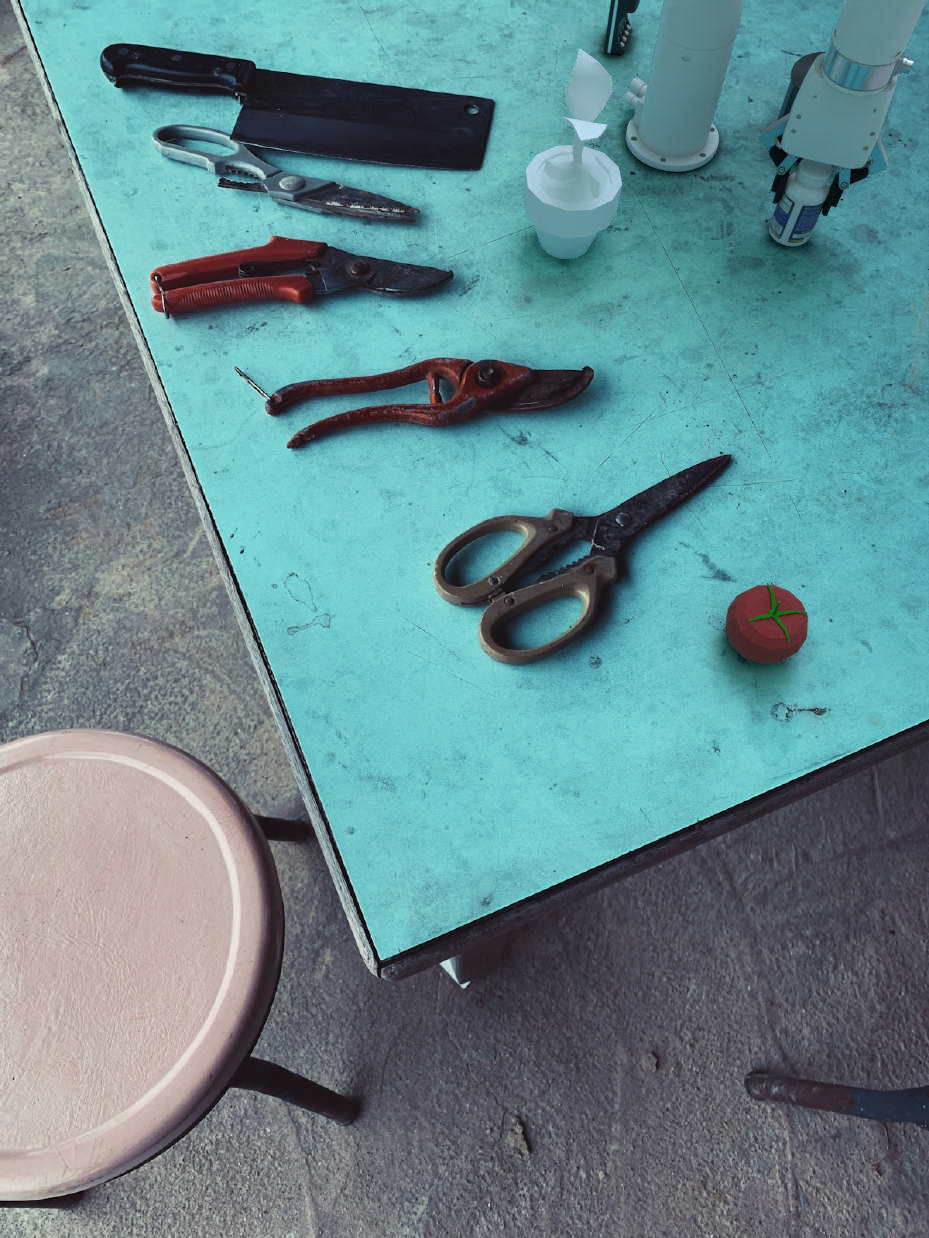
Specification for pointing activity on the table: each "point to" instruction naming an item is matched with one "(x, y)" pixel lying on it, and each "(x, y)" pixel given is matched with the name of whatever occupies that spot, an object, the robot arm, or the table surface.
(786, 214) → the pill bottle
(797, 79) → the pot lid
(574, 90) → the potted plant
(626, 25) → the battery charger
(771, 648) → the tomato
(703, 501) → the table surface
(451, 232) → the table surface
